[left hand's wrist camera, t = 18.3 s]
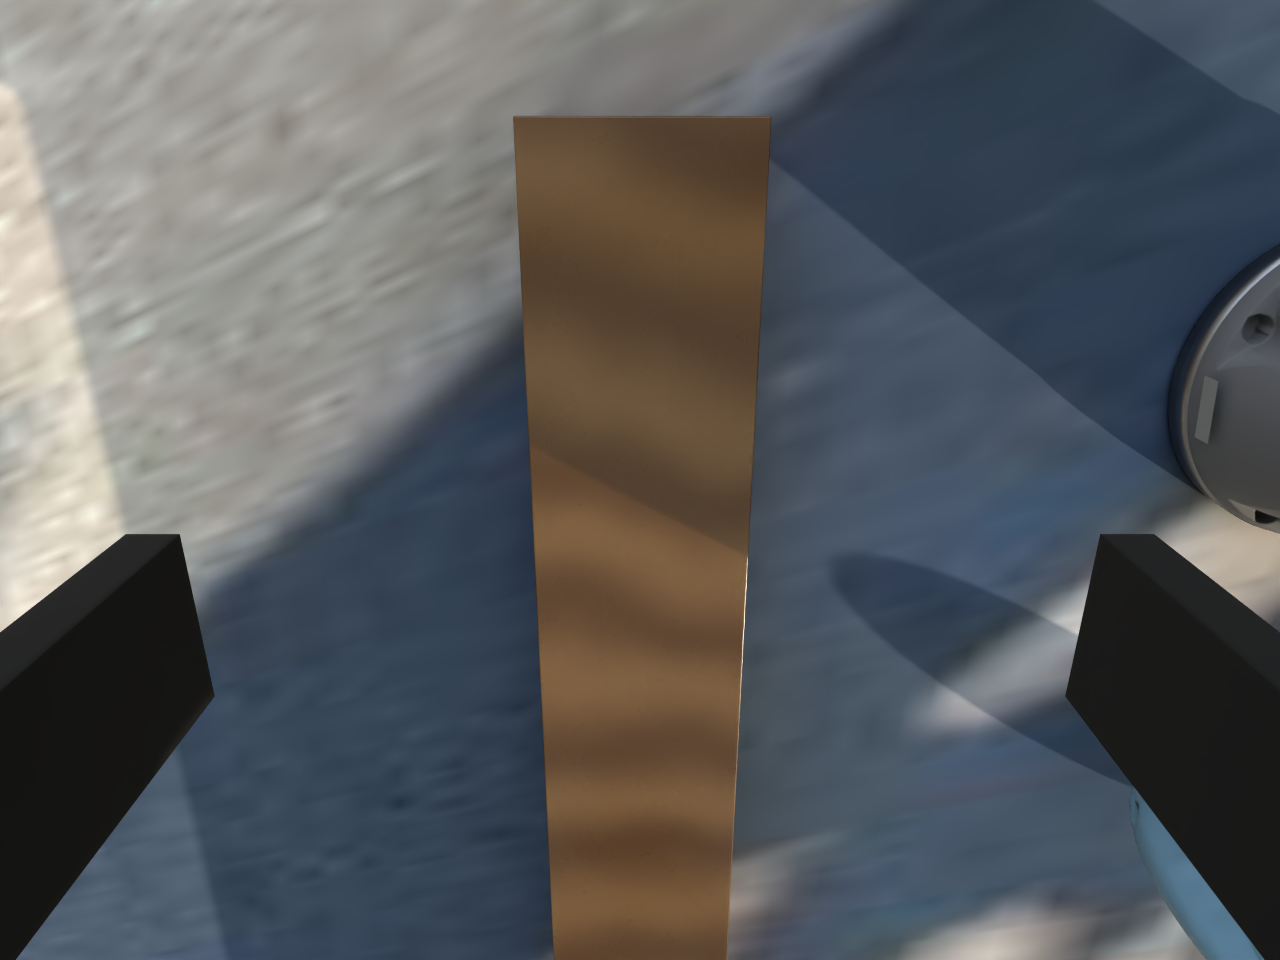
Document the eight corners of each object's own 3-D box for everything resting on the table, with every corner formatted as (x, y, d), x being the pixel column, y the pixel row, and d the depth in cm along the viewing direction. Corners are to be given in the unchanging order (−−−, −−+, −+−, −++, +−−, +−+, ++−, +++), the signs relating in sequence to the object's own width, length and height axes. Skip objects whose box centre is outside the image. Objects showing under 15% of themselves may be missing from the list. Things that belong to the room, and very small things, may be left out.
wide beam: (535, 118, 38) (513, 116, 32) (749, 119, 38) (771, 116, 32) (580, 1258, 69) (573, 1377, 63) (698, 1259, 69) (704, 1377, 63)
